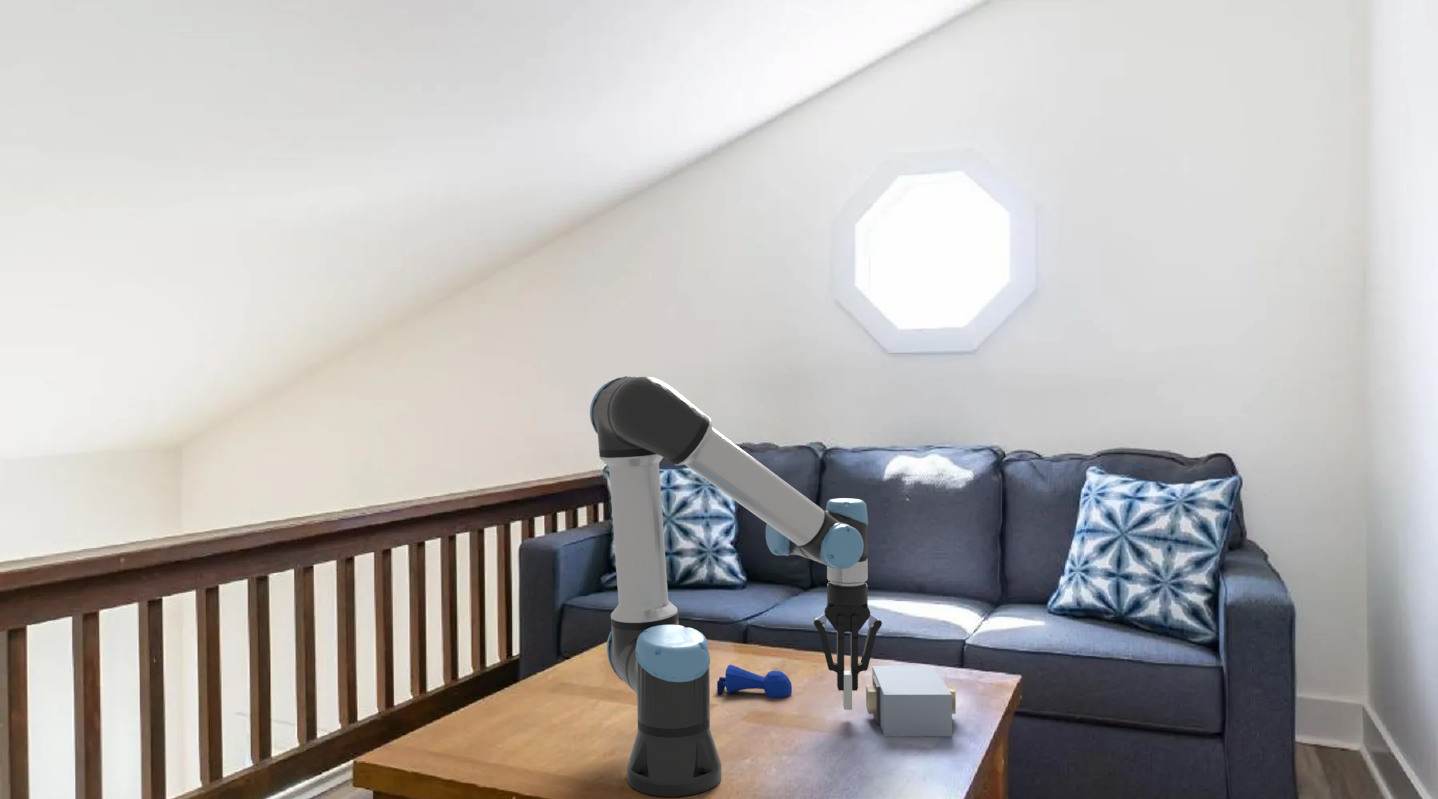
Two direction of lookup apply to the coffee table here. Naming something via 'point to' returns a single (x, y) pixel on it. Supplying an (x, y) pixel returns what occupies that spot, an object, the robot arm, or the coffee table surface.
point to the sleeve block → (912, 701)
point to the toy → (755, 682)
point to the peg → (872, 699)
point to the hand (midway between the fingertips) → (847, 707)
